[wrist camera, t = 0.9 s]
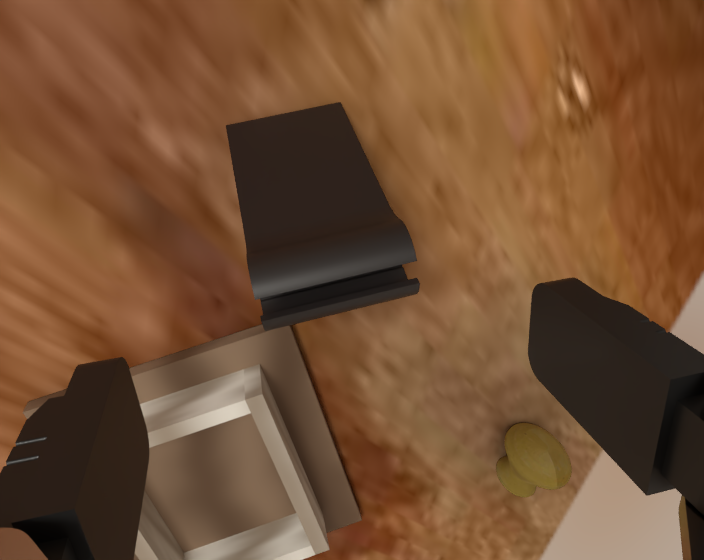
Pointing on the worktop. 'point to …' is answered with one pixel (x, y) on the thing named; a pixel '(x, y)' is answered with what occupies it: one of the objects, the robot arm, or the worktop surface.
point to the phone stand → (315, 218)
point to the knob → (532, 461)
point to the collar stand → (236, 453)
